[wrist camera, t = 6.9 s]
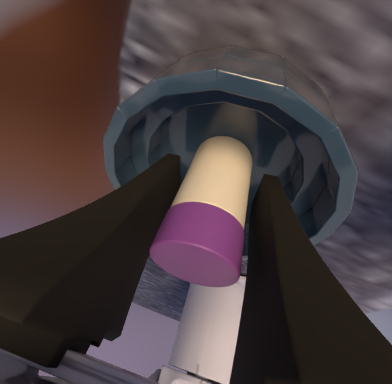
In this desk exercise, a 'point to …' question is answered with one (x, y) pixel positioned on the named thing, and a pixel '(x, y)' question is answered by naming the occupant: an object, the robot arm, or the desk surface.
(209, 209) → the glue stick
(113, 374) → the robot arm
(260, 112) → the dish
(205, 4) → the desk surface
